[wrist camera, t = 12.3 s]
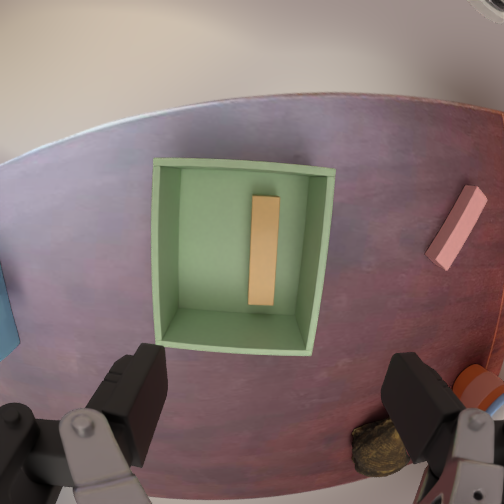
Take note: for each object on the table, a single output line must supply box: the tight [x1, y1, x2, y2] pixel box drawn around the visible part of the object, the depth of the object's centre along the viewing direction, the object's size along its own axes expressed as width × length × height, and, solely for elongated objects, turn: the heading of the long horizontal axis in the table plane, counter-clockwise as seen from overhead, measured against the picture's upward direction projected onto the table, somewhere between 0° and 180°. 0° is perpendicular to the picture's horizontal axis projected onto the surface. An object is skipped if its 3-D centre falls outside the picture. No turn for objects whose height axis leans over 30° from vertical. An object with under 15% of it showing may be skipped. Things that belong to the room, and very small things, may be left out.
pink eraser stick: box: [425, 185, 488, 271], centre depth 28 cm, size 10×2×2 cm, turn 146°
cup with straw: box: [453, 364, 504, 420], centre depth 26 cm, size 9×9×18 cm
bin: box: [151, 158, 336, 356], centre depth 26 cm, size 15×13×8 cm
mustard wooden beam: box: [248, 194, 280, 306], centre depth 28 cm, size 10×2×2 cm, turn 178°
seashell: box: [352, 417, 410, 477], centre depth 34 cm, size 16×9×7 cm, turn 12°
